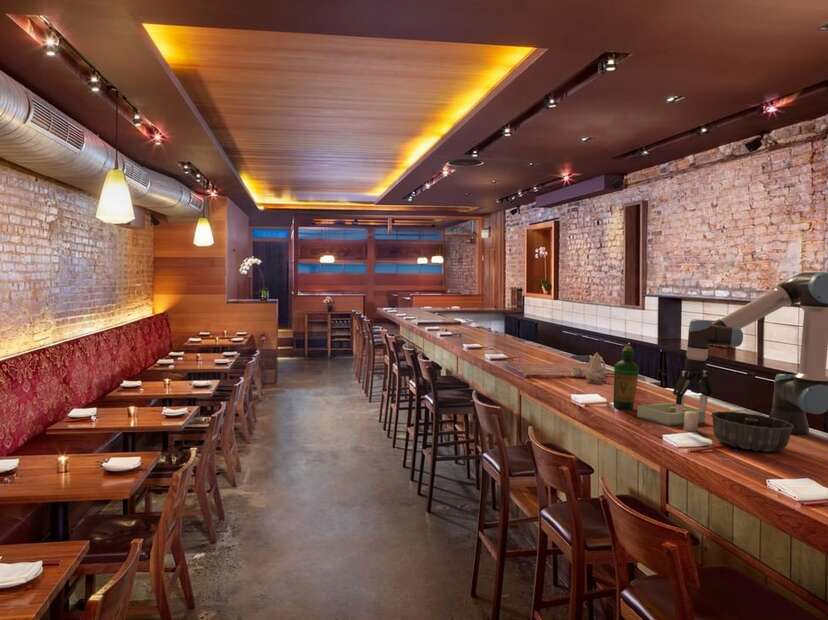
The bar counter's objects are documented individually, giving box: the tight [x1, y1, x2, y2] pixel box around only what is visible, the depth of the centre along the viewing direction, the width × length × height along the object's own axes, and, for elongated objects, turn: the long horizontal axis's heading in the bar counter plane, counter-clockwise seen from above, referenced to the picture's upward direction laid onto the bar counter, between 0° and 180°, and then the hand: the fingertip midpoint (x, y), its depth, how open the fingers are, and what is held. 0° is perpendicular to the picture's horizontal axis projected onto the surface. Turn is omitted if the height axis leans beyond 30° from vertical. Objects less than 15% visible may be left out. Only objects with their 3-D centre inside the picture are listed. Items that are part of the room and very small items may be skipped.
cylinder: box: [683, 411, 699, 433], centre depth 241 cm, size 5×5×7 cm
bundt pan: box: [711, 411, 794, 453], centre depth 221 cm, size 26×26×10 cm
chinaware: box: [570, 352, 606, 384], centre depth 352 cm, size 28×17×17 cm, turn 16°
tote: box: [636, 402, 706, 427], centre depth 257 cm, size 16×22×5 cm
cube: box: [669, 407, 688, 413], centre depth 254 cm, size 5×5×5 cm
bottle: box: [613, 346, 640, 411], centre depth 275 cm, size 11×11×28 cm
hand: (690, 412), depth 240 cm, fingers open, 13 cm apart
